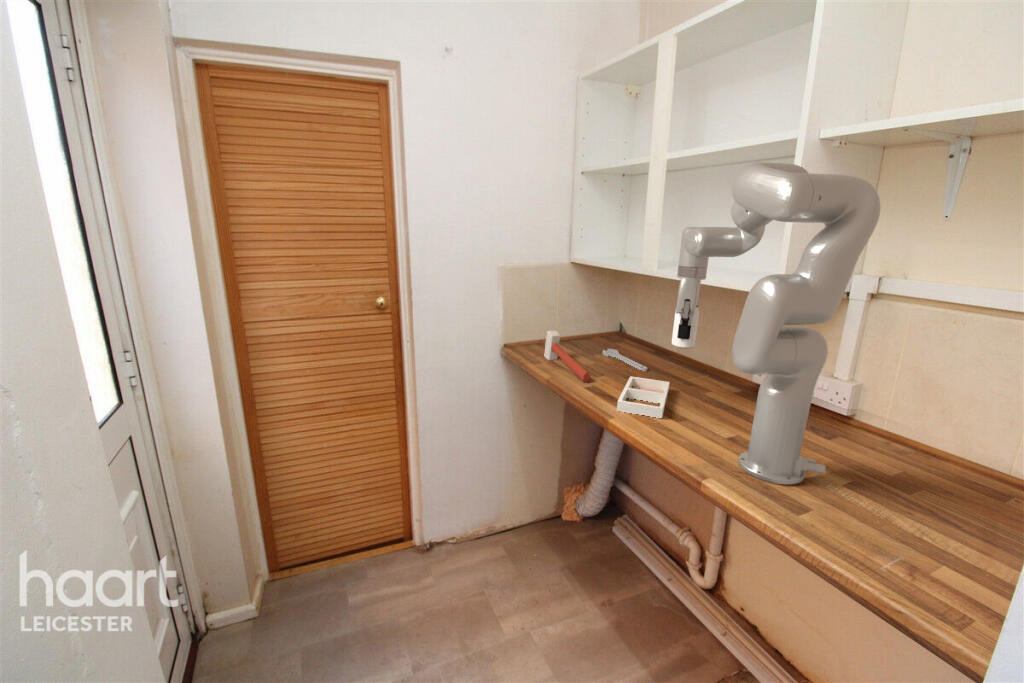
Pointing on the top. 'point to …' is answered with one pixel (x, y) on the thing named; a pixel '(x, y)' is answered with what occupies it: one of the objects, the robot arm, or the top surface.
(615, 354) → the adjustable wrench
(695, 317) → the can
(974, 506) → the top surface
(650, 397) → the caddy
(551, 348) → the mallet
